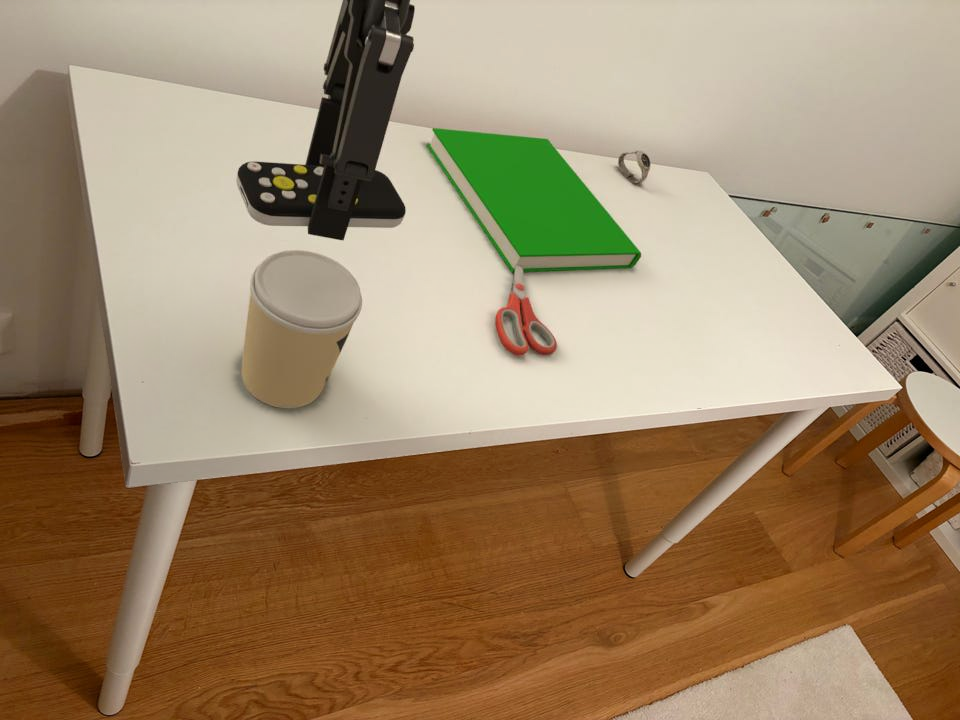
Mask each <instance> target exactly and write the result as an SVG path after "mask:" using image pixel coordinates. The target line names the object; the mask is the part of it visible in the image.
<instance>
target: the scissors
mask: <svg viewBox="0 0 960 720" xmlns="http://www.w3.org/2000/svg"><path fill="white" fill-rule="evenodd" d="M524 277H525V275H524V272H523V265H515V272H514V273H513V282H512V283H511V286H512V288H511V292H510V293H509V296H508V303H507V305H506V306H503V307H501V308H500V309H498V310H497V312H496V314H495V319H494V320H495V321H494V322H495V323H494V325H495V330H496V331H495V332H496V334H497V337H498V340H499V341H500V343H501V345H502V347H503V349H504V350H506V351H507V352H508V353H509V354H512V355H514V356H519V357H520V356H525V355H526V354H527V353H528V352H529V349H531V350H532V351H533V352H535V353H536V354H539V355H542V356H549V355H553V354H554V353H555V352H556V350H557V347H558V344H557V340H556V338H555V336H554V334H553V333H552V332H551V330H549V328H548V327H547V326H546V325H545V324H544V323H542V321H540V320H539V319H538V317H537V316H536V314H535V312H534V310H533V307H532V303H531V301H530V298H529V296H526V285H525V279H524ZM505 317H506V318H508V319H509V320H511V321H512V326H513V332H514V336H515V339H516V342H517V343H518V345H517V344H515V343H514V342H513V341H512V340H511V339H510V337H509V336H508V334H507V331H506V329H505V325H504V318H505ZM532 330H535V331H536V332H537V333H539V335H541V336H542V337H543V338H544V340H545V342H546V343H547V345H543V344H541V343H540V342H538V341H537V339H536V338H535V336H534V335H533V333H532Z"/></svg>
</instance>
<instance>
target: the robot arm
mask: <svg viewBox="0 0 960 720" xmlns="http://www.w3.org/2000/svg"><path fill="white" fill-rule="evenodd" d="M415 9H416V6H415V5H414V4H411V0H342V2H341V6H340V9H339V12H338V16H337V20H336V25H335V28H334V31H333V36H332V39H331V43H330V46H329V50H328V54H327V57H326V62H324V64H323V72H324V76H326V79H324V81H323V85H322V89H323V95H326V96H327V97H323V96H322V97H321V100H320V103H319V108H318V113H317V116H316V120H315V124H314V129H313V132H312V137H311V140H310V144H309V148H308V152H307V156H306V160H305V163H304V165H316V166H324V169H323V173H322V176H321V180H320V184H319V188H318V191H317V195H316V199H315V202H314V206H313V210H312V214H311V217H310V221H309V225H308V226H307V235H311V236H316V237H321V238H326V239H332V240H337V241H345V237H346V234H347V231H348V228H349V227H348V225H349V222H350V218H351V215H352V212H353V209H354V206H355V203H356V199H357V196H358V193H359V190H360V187H361V183H362V180H366V181H372V180H373V177H374V176H375V170H376V168H377V165H378V162H379V158H380V154H381V151H382V147H383V145H384V144H383V143H384V141H385V138H386V133H387V130H388V127H389V122H390V119H391V116H392V112H393V109H394V105H395V101H396V98H397V94H398V91H399V88H400V85H401V81H402V77H403V74H404V71H405V69H406V68H407V67H406V66H407V64H408V62H409V59H410V57H411V54H412V53H413V52H414V49H415V43H414V41H415V40H414V36H411V35H408V33H409V32H410V31H411V29H412V26H413V20H414V17H415Z"/></svg>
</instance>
